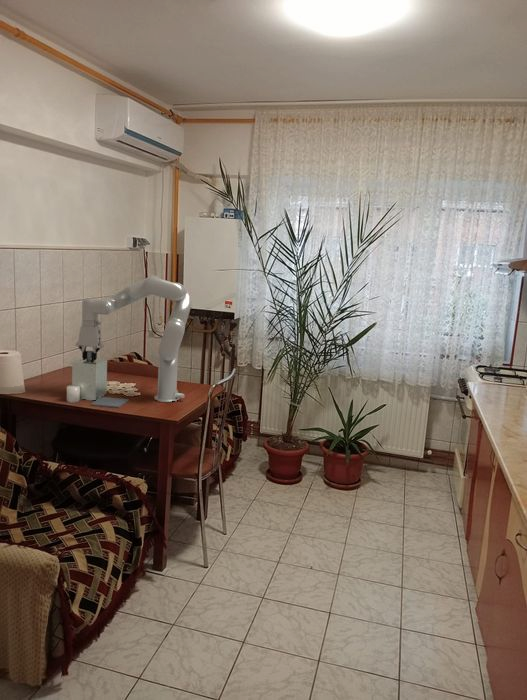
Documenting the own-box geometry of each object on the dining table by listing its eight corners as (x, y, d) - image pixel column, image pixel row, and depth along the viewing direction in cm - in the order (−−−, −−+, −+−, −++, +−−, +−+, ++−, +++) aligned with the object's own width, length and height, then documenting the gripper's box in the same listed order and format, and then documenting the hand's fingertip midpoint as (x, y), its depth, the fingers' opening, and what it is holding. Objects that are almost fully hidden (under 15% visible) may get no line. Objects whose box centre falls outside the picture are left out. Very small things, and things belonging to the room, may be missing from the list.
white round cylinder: (81, 399, 265) (81, 385, 264) (76, 402, 259) (76, 388, 258) (69, 398, 266) (69, 384, 265) (64, 401, 260) (64, 387, 259)
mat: (128, 400, 269) (128, 399, 269) (118, 408, 255) (118, 406, 255) (101, 398, 270) (101, 396, 270) (90, 405, 256) (90, 404, 256)
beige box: (106, 394, 278) (107, 350, 274) (95, 400, 265) (96, 354, 261) (83, 392, 279) (84, 348, 275) (71, 398, 266) (72, 352, 262)
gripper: (109, 324, 268) (108, 360, 271) (76, 321, 270) (76, 357, 273) (103, 325, 261) (102, 362, 264) (70, 323, 262) (69, 359, 265)
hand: (89, 359), depth 268 cm, fingers open, 4 cm apart
